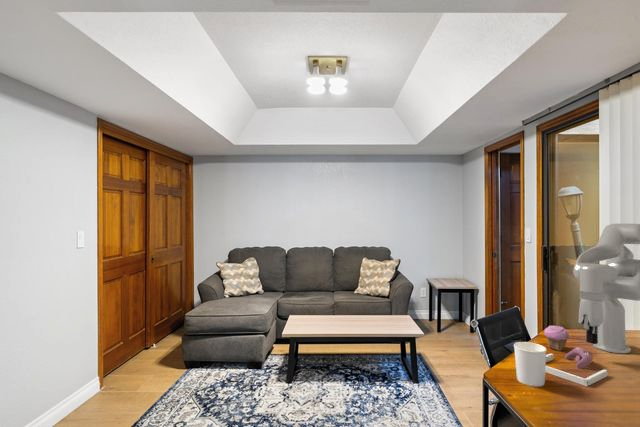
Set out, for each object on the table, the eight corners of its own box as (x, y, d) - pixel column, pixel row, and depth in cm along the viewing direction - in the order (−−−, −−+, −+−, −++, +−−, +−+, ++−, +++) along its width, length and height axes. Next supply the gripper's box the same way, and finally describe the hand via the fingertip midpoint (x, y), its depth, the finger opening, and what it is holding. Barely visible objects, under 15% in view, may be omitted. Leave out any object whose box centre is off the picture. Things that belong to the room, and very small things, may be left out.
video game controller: (588, 373, 133) (597, 357, 132) (576, 367, 133) (585, 350, 133) (574, 362, 142) (583, 347, 142) (563, 357, 143) (571, 341, 143)
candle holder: (509, 375, 129) (508, 341, 129) (536, 375, 128) (536, 341, 128) (523, 388, 119) (523, 351, 119) (553, 388, 118) (552, 351, 119)
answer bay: (550, 358, 143) (550, 353, 143) (607, 375, 127) (607, 370, 127) (529, 366, 136) (529, 361, 136) (587, 386, 119) (586, 380, 119)
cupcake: (540, 347, 155) (540, 324, 155) (551, 344, 159) (550, 321, 159) (562, 354, 147) (562, 330, 147) (573, 350, 151) (573, 326, 152)
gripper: (589, 293, 149) (590, 337, 148) (571, 296, 141) (572, 343, 140) (611, 296, 142) (612, 342, 142) (593, 299, 135) (594, 348, 134)
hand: (592, 342), depth 141 cm, fingers closed
